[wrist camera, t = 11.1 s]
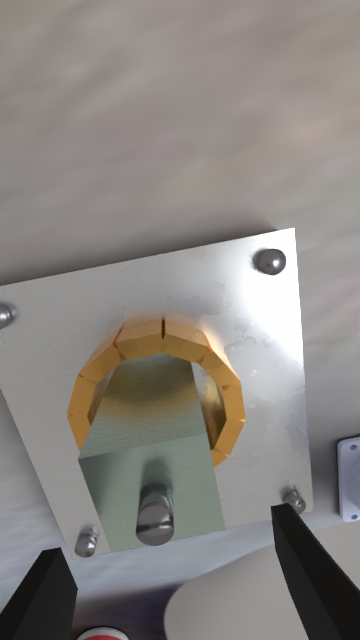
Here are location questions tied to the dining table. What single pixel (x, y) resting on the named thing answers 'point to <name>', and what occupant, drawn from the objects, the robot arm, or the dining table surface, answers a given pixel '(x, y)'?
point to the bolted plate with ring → (160, 342)
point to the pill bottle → (103, 634)
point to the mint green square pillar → (151, 458)
